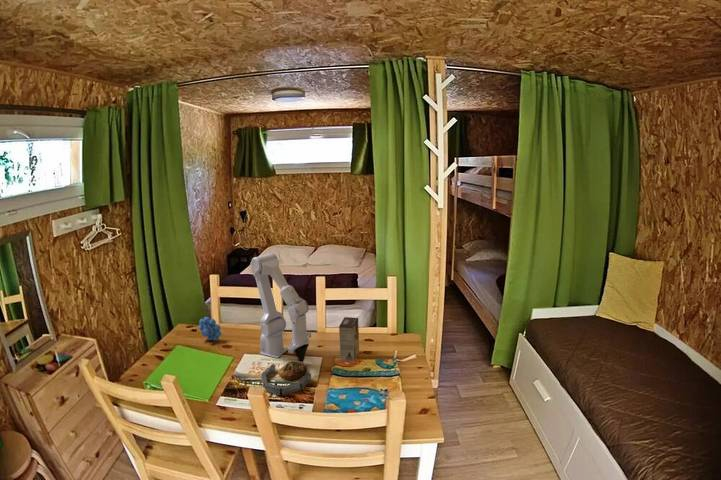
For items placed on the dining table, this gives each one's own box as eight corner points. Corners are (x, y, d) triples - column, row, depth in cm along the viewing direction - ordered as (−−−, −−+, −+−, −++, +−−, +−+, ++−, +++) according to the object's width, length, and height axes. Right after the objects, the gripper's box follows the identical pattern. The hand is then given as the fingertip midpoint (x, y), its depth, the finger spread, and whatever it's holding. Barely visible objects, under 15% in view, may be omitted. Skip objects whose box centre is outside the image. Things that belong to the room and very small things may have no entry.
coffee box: (345, 349, 155) (344, 316, 151) (359, 351, 153) (358, 317, 150) (339, 361, 146) (338, 325, 143) (354, 362, 145) (354, 326, 141)
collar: (252, 387, 129) (251, 381, 129) (272, 369, 140) (272, 364, 140) (293, 399, 123) (293, 392, 122) (311, 379, 134) (310, 373, 133)
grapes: (194, 343, 162) (191, 320, 160) (203, 336, 169) (201, 313, 166) (216, 346, 160) (213, 322, 157) (225, 339, 166) (222, 315, 163)
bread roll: (304, 381, 133) (301, 369, 132) (276, 383, 134) (273, 372, 133) (310, 365, 144) (308, 354, 143) (284, 368, 145) (282, 357, 144)
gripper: (298, 340, 132) (300, 372, 135) (316, 324, 145) (318, 353, 148) (282, 337, 135) (284, 368, 138) (302, 321, 148) (304, 350, 151)
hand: (301, 360), depth 143 cm, fingers closed
